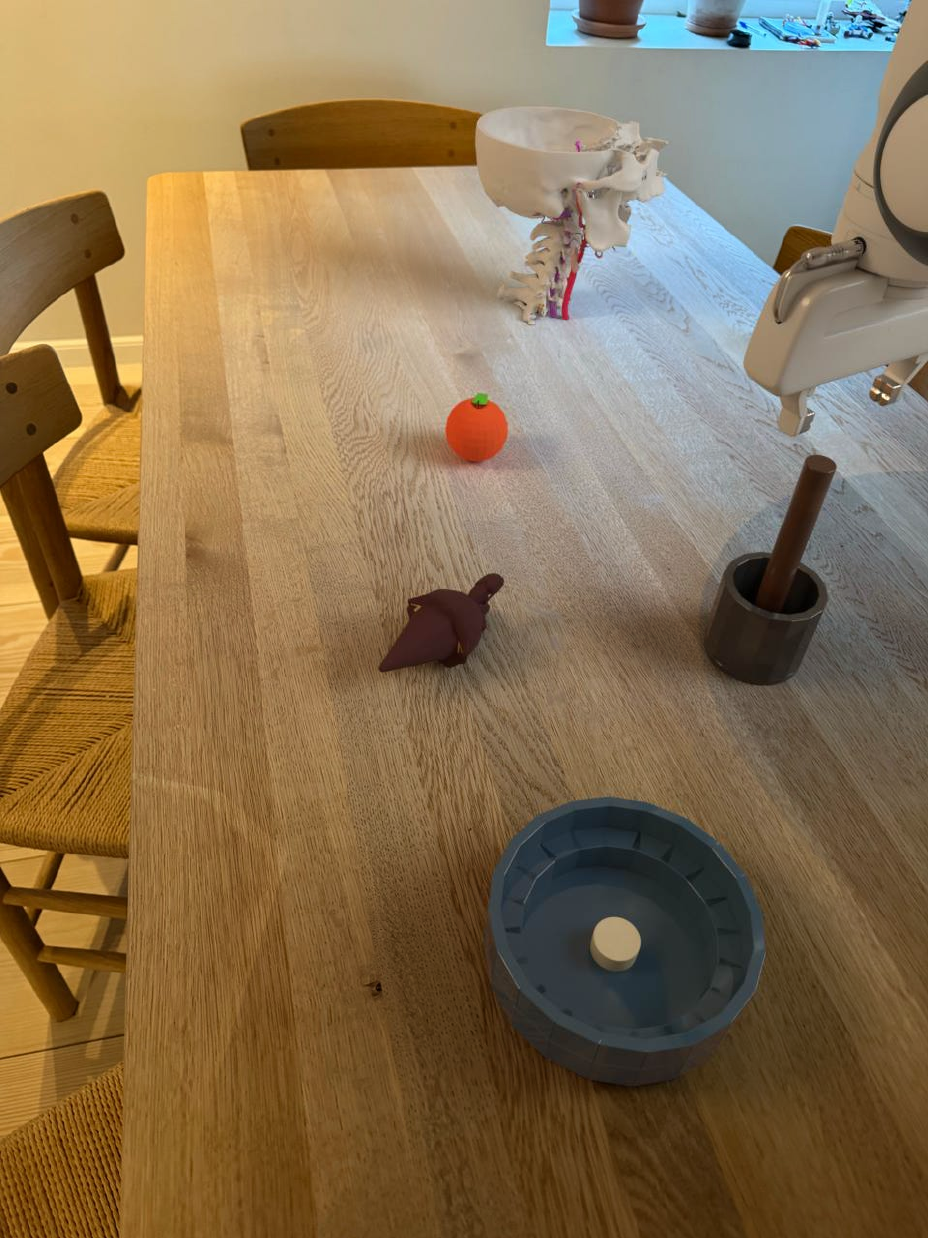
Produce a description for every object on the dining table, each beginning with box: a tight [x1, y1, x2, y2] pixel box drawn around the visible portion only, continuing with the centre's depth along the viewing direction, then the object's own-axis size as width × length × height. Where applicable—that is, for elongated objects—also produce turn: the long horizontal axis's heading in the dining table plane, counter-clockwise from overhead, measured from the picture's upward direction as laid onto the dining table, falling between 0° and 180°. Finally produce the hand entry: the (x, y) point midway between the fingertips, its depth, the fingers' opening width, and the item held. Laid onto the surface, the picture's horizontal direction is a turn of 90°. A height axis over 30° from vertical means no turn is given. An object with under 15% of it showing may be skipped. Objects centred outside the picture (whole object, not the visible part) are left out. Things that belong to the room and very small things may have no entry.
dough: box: [590, 917, 641, 972], centre depth 64 cm, size 3×3×2 cm
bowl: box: [482, 796, 767, 1087], centre depth 63 cm, size 18×18×6 cm
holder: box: [703, 551, 829, 686], centre depth 85 cm, size 9×9×8 cm
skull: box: [474, 105, 669, 325], centre depth 129 cm, size 25×19×23 cm
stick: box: [753, 454, 838, 614], centre depth 80 cm, size 2×2×20 cm
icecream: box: [377, 572, 505, 673], centre depth 83 cm, size 7×7×15 cm
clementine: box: [444, 392, 509, 462], centre depth 106 cm, size 8×7×7 cm
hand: (838, 415), depth 71 cm, fingers open, 8 cm apart
